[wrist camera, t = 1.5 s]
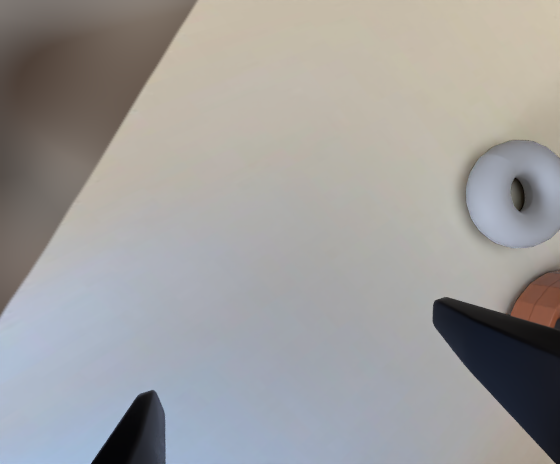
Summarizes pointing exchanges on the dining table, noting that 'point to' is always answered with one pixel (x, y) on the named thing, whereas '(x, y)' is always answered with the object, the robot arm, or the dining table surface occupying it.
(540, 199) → the donut
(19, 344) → the dining table surface
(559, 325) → the sundae
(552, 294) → the bowl
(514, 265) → the dining table surface
